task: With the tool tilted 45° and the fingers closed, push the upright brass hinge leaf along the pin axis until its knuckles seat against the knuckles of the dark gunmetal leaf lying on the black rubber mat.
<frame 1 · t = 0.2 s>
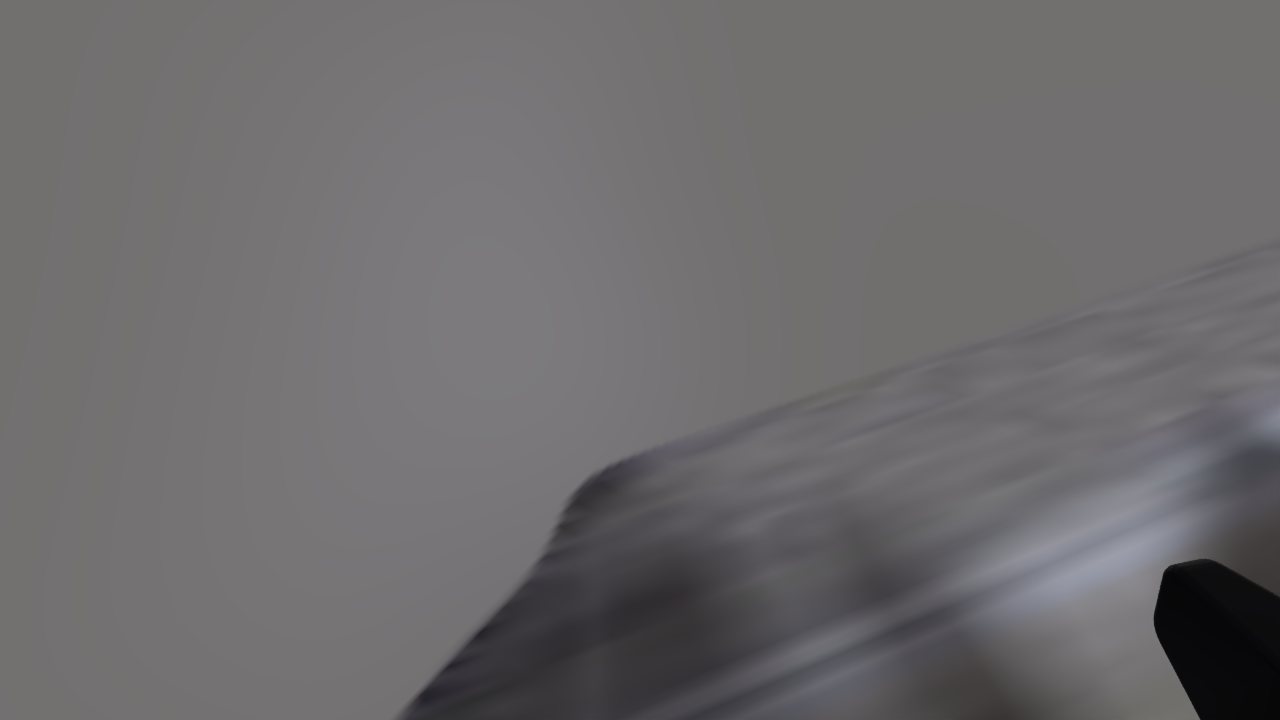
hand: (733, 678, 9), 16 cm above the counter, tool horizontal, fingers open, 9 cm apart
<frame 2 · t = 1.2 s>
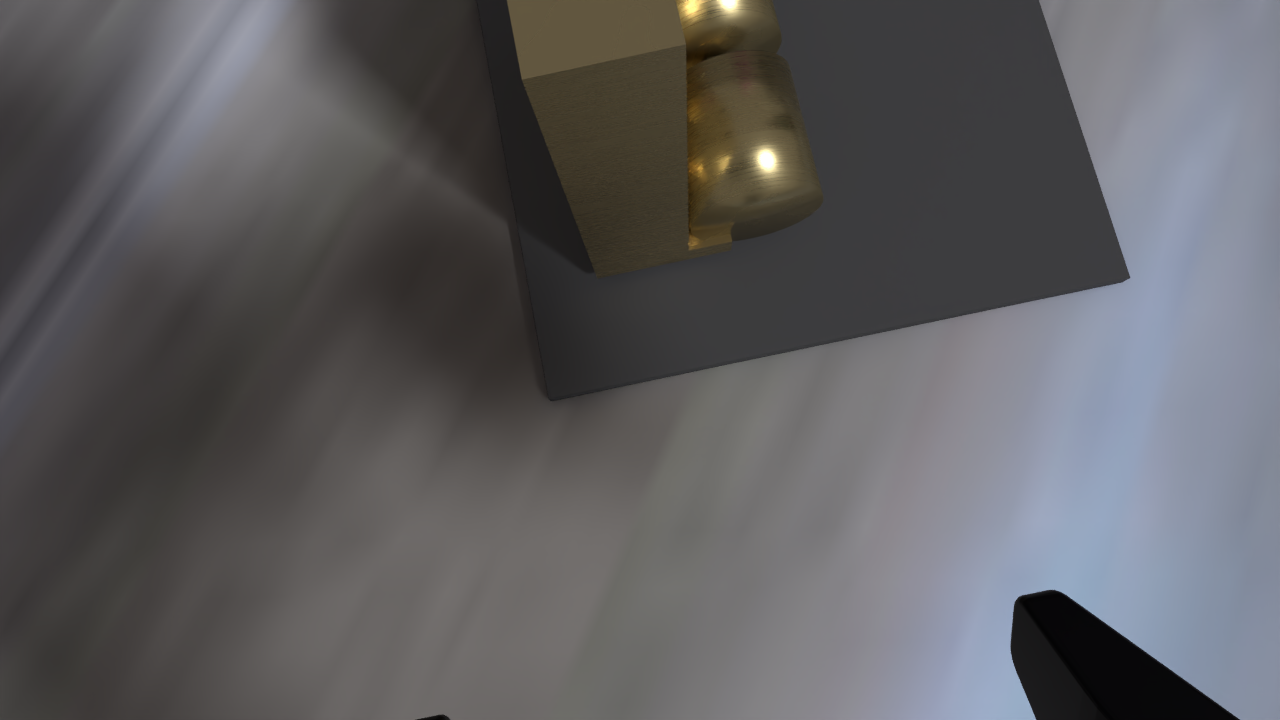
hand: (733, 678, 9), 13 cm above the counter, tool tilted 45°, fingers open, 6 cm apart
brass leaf: (669, 1, 18), point 6 cm above the counter, slide at 6.0 cm
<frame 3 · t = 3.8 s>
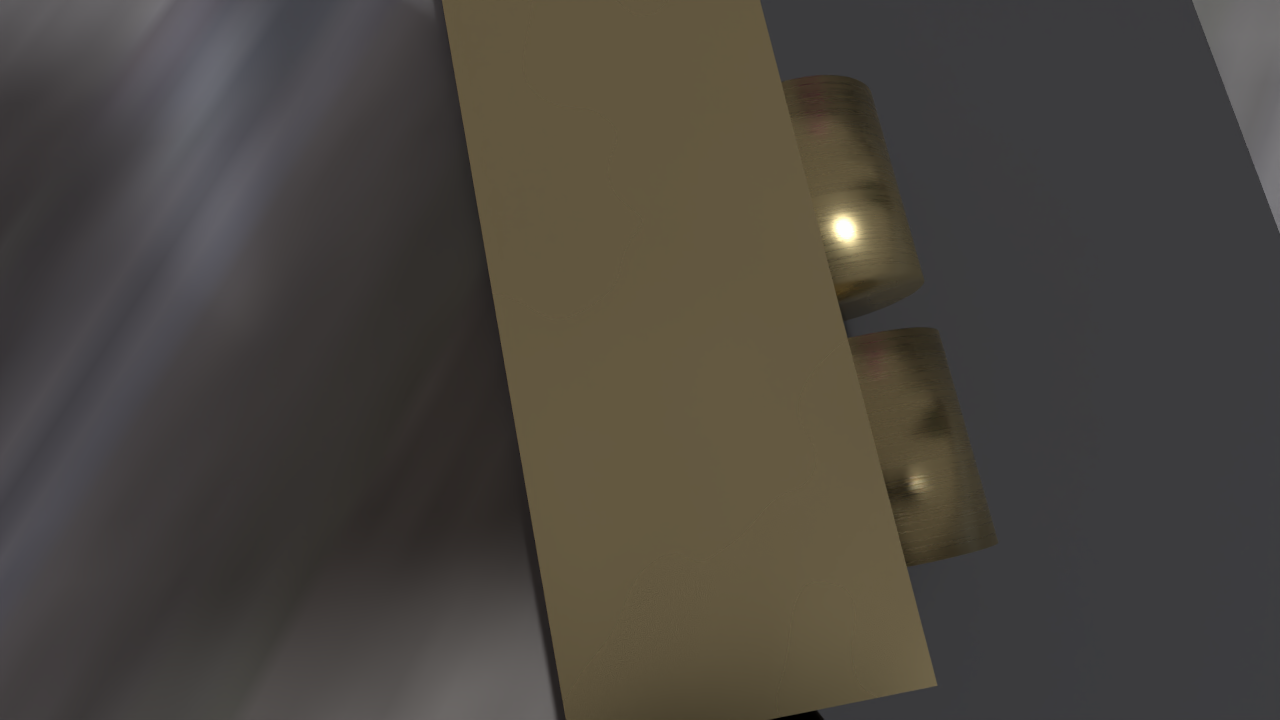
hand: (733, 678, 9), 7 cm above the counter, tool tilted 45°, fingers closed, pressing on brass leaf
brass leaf: (783, 294, 11), point 6 cm above the counter, slide at 4.3 cm, touching gripper
rubber mat: (837, 135, 18), on the counter
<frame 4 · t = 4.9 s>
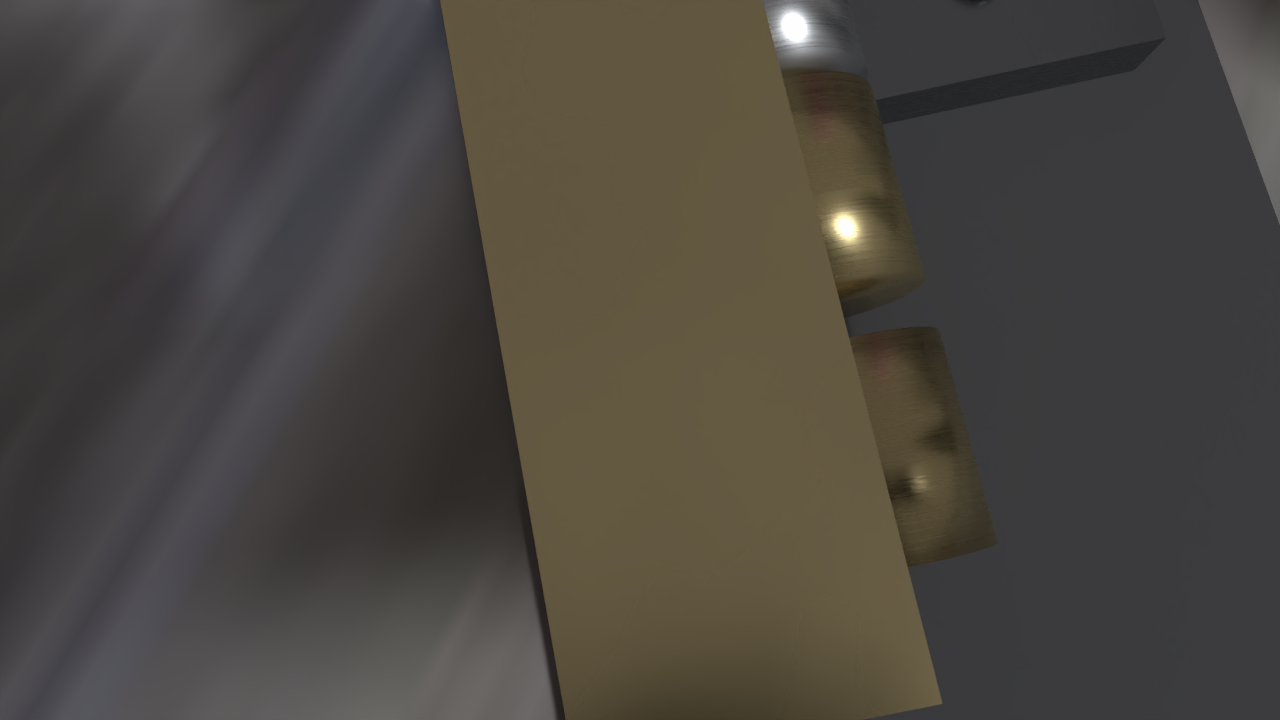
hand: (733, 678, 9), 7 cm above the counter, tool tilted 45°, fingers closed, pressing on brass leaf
gunmetal leaf: (769, 170, 18), resting on rubber mat
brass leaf: (784, 296, 11), point 6 cm above the counter, slide at -0.3 cm, touching gripper
rubber mat: (895, 344, 17), on the counter
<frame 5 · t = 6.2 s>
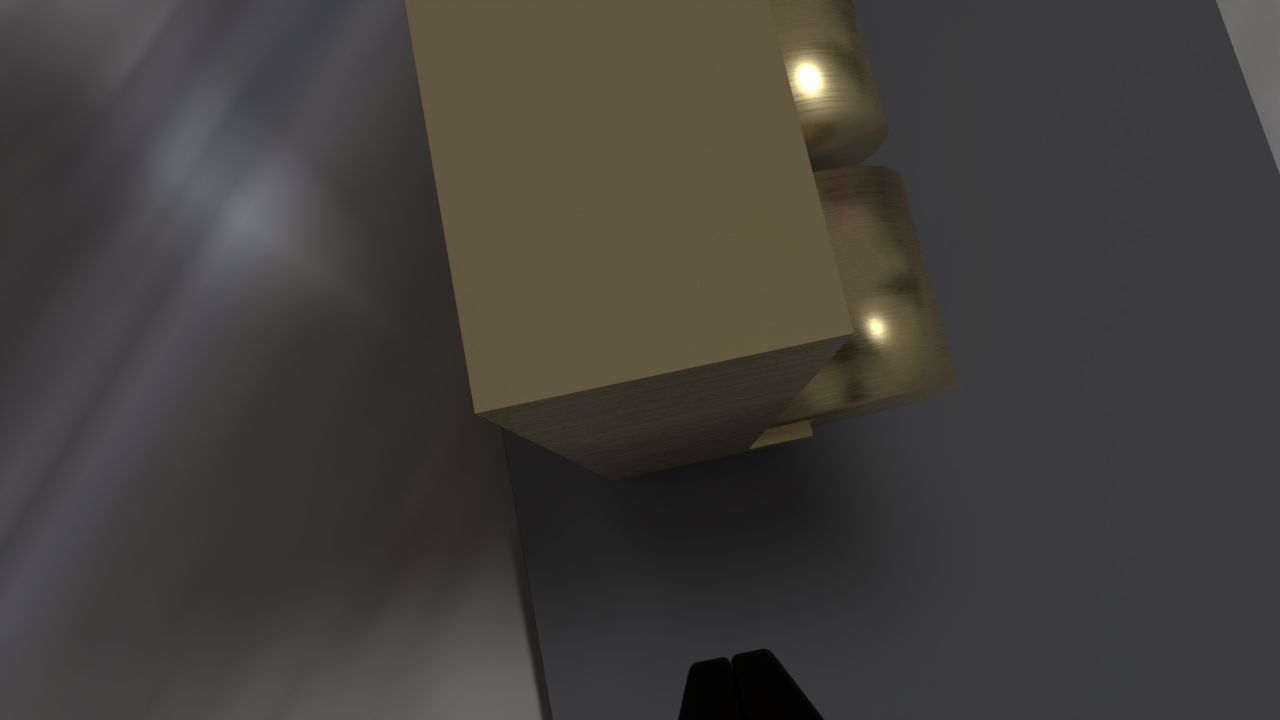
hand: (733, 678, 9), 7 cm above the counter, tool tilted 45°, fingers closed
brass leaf: (736, 107, 11), point 6 cm above the counter, slide at 0.0 cm
rubber mat: (859, 204, 17), on the counter
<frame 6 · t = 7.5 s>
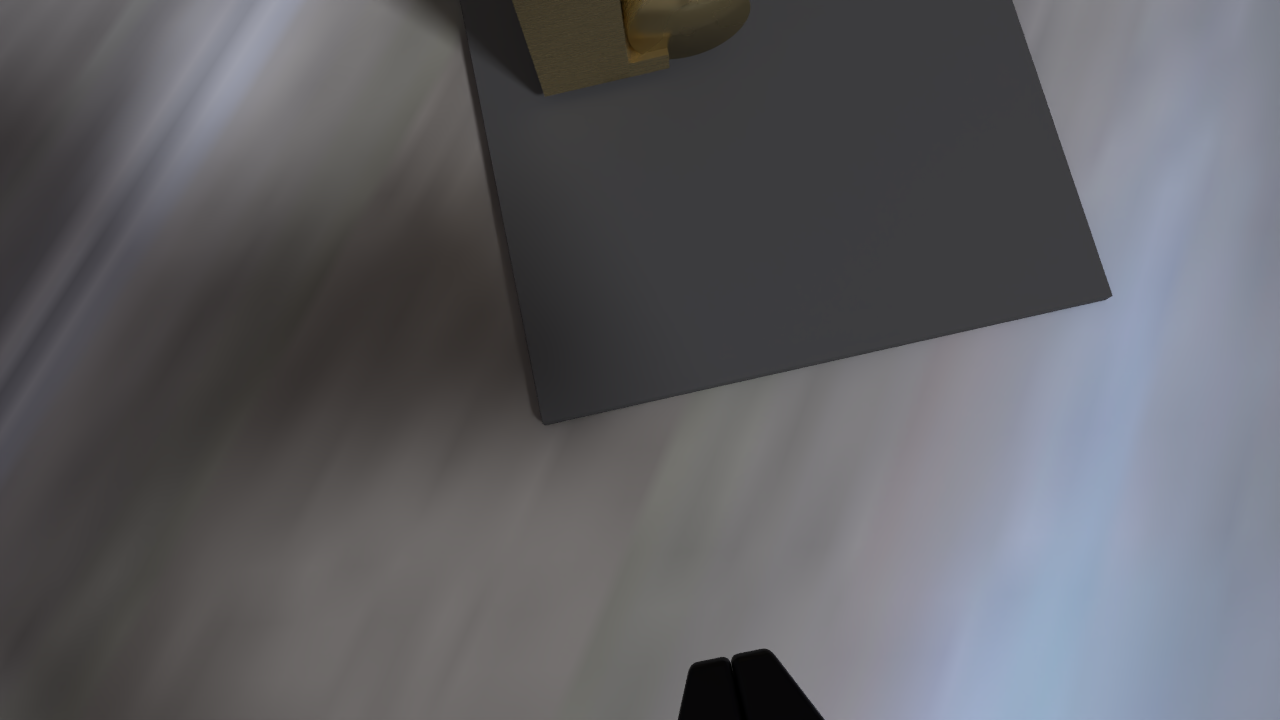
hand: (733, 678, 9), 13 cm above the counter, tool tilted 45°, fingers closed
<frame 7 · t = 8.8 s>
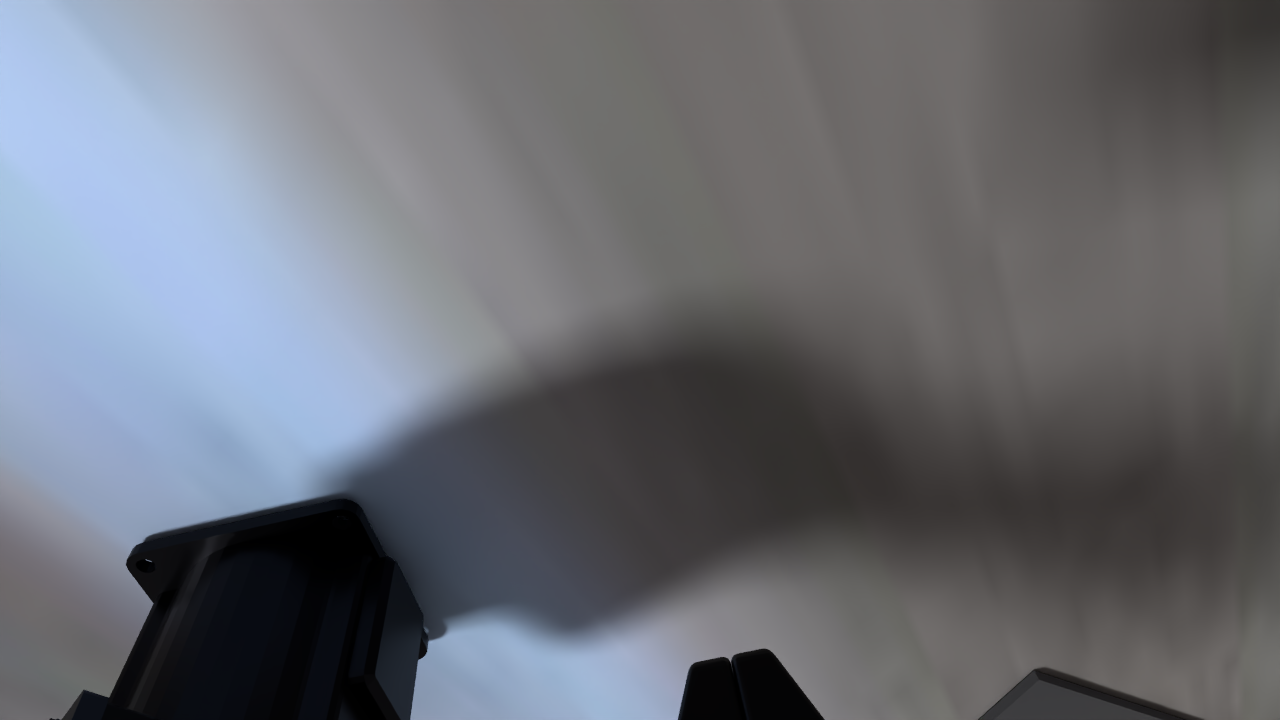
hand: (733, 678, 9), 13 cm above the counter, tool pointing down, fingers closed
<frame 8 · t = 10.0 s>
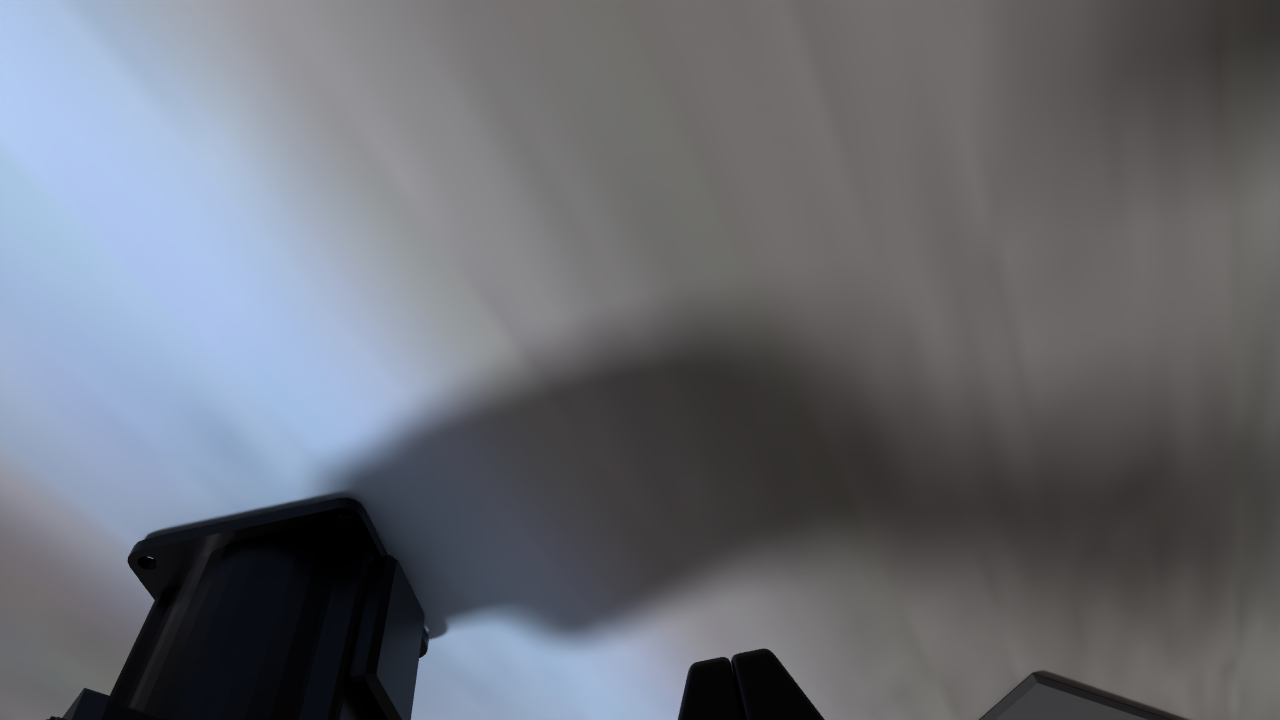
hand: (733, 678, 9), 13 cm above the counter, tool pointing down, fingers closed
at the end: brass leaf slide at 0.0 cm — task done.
